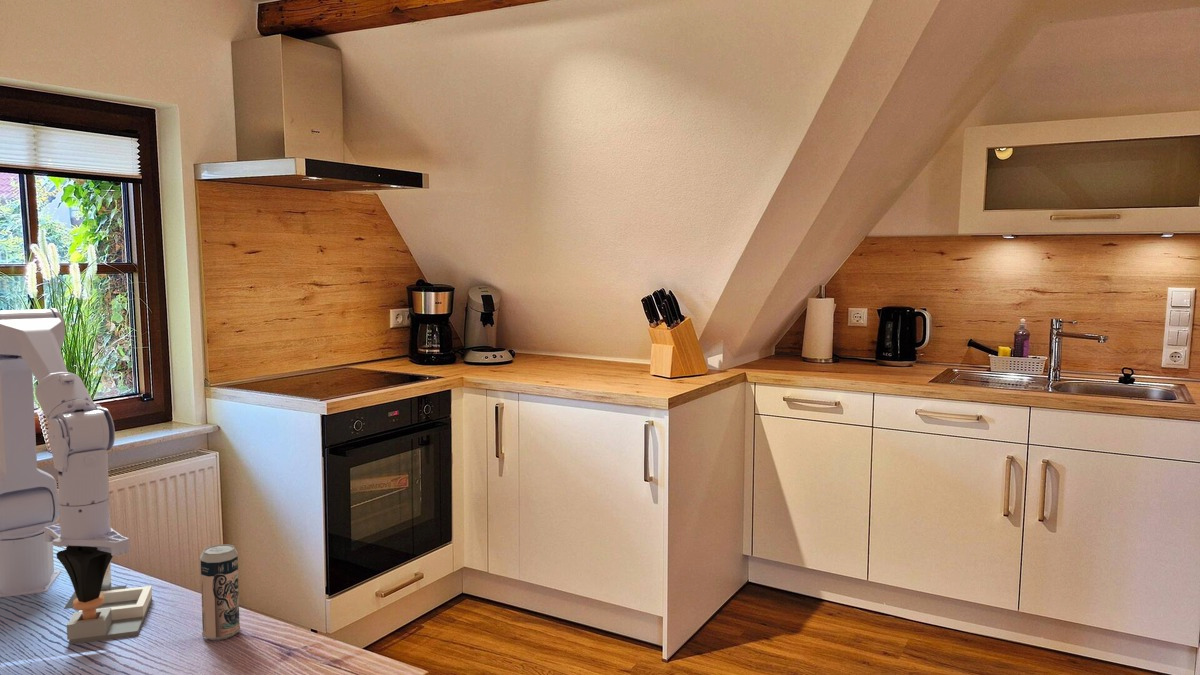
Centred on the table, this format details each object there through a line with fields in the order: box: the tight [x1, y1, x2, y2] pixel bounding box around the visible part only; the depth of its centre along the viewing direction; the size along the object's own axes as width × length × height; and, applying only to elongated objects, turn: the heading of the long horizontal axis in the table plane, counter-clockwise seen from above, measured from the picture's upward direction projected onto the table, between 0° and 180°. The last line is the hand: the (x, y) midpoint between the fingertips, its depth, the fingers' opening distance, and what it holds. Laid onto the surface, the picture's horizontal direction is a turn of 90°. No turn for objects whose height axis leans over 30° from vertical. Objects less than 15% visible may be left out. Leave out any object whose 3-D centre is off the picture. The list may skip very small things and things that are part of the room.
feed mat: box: [63, 584, 128, 610], centre depth 126 cm, size 7×7×1 cm
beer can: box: [199, 544, 241, 641], centre depth 114 cm, size 5×5×12 cm
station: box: [66, 585, 153, 645], centre depth 118 cm, size 13×8×3 cm, turn 21°
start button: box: [72, 594, 105, 620], centre depth 113 cm, size 4×4×3 cm
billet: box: [101, 562, 112, 591], centre depth 126 cm, size 4×4×6 cm
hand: (88, 599), depth 113 cm, fingers closed, pressing on start button
